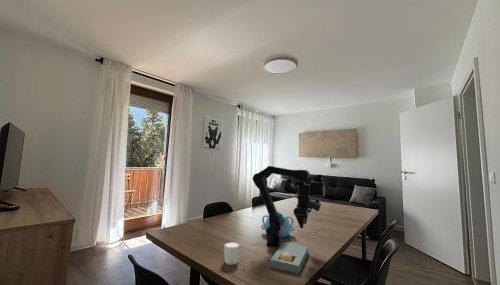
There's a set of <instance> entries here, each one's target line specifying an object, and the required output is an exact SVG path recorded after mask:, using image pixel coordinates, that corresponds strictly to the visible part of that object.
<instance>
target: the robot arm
mask: <svg viewBox="0 0 500 285" xmlns="http://www.w3.org/2000/svg"><path fill="white" fill-rule="evenodd" d="M272 174H275V175H280V176H284V177H285V176H286V177H290V178H292V179H294V180H296V181H295V182H294V183H293V186H297V196H296V199H297V204H296V207H295V208H294V209H293V215H294V216H295V218H296V221H297V223H298V225H299V228H300V229H303V228H304V225H306V224H307V222H308V217H309V213H311V212H312V210H315V212H319V211H320V209H321V207H322V203H320V200H319V199H316V200H314V199H311V196H310V194H311V195H312V196H315V197H325V195H326V188H325V182H324V181H319V182H318V181H314V180H313V178H312V177H311V173H310V171H308V170H307V169H288V168H283V167H277V166H273V165H268V166H266V168H264V169H262V170H261V171H259V172H257V173H254V175H253V176H252V181H253V183H254V185H255V187H257V188H258V190H259V193H260V194H261V197H262V200H263V203H264V206H265V208H266V211H267V213H268V214H267V215H268V216H269V224H270V226H269V227H268V228H267V229H266V231H265V232H266V235H267V236H266V243H265V246H268V247H275V248H279V247H280V245H282V237H281V236H280V232H279V231H281V229H282V228H283V227H284V221H285V220H284V219H283V216H282V214H283V213H280V215H279V214H278V212H279V211H278V210H277V209H276V206H275V203H274V201H273V198H272V195H271V193H270V190H269V187H268V178H269V177H270V176H271V175H272Z"/></svg>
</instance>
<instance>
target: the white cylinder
mask: <svg viewBox="0 0 500 285" xmlns="http://www.w3.org/2000/svg"><path fill="white" fill-rule="evenodd" d="M240 246H241V245H240V243H238V242H235V241H234V242H233V241H231V242H226V243H224V244H223V249H224V254H223V255H224V262H225V264H226V265H231V266H232V265H236V264H238V263H239V256H240V248H241V247H240Z"/></svg>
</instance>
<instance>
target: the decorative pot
mask: <svg viewBox="0 0 500 285" xmlns="http://www.w3.org/2000/svg"><path fill="white" fill-rule="evenodd" d="M277 212H278V214H279V215H280V214H282V216H283V219H284V220H285V221H284V227H283V228H282V229H281V231H279V232H280V236H281V238H286V237H287V236H289V234H290V233H291V232H293V231H295V227H294V226H293V225H294V218H293V217H292V216H287V214H285V213H281V212H280V211H277ZM265 218H267V219H266V220H265ZM289 219H291V222H290V221H289ZM261 221H262V223H263V224H262V225H261V227H260V228H261V229H262V230H264V231H265V232H266V229H267V228H268V227H269V226H270V224H269V214H266V215H263V216H262V219H261Z"/></svg>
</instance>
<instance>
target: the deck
mask: <svg viewBox="0 0 500 285" xmlns="http://www.w3.org/2000/svg"><path fill="white" fill-rule="evenodd" d="M283 253H288V254H290V255H291V257H292V262H288V261H284V260H280V258H281V255H282V254H283ZM308 255H309V246H305V245H300V244H294V243H290V242H289V243H287V242H283V243H281V246H279V247H278V249H277V250H276V251H275V253H274V254H273V255H272V256H271V257H270V258H269V268H272V269H277V270H280V271H284V272H289V273H293V274H299V275H300V272H301V270H302V269H303V268H302V267H303V266H304V263H305V261H306V259H307V256H308Z"/></svg>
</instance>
